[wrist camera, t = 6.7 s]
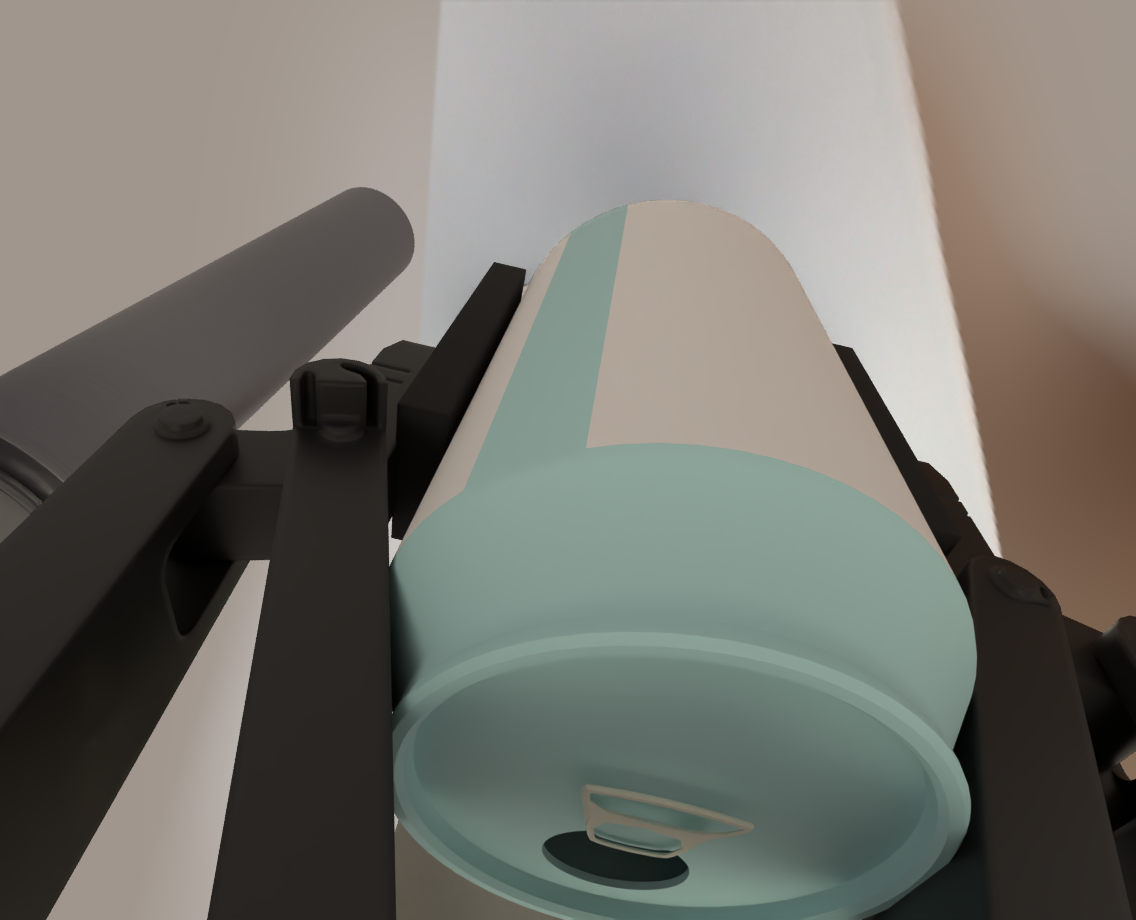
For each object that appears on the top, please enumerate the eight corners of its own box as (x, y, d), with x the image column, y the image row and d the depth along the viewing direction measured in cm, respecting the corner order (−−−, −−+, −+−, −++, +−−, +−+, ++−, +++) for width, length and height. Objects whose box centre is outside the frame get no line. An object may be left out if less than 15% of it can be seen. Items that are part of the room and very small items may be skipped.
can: (829, 410, 17) (1070, 965, 7) (586, 479, 19) (506, 970, 9) (761, 137, 13) (1047, 472, 3) (473, 262, 15) (157, 678, 6)
